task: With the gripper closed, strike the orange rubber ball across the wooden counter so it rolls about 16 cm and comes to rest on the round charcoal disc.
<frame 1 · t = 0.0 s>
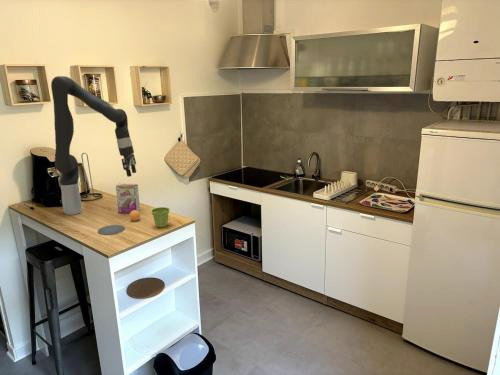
hand: (132, 174, 211), 22 cm above the worktop, tool pointing down, fingers open, 8 cm apart
ball: (134, 215, 204), on the worktop
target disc: (111, 230, 191), on the worktop
plant pot: (161, 226, 197), on the worktop
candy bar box: (129, 212, 217), on the worktop
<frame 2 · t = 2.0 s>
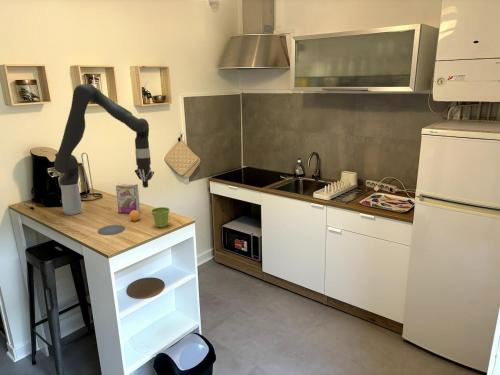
hand: (145, 187, 208), 16 cm above the worktop, tool pointing down, fingers closed
nothing on the worktop moved.
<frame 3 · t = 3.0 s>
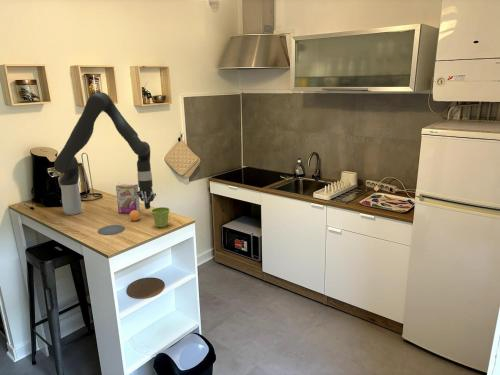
hand: (147, 208, 211), 4 cm above the worktop, tool pointing down, fingers closed
nothing on the worktop moved.
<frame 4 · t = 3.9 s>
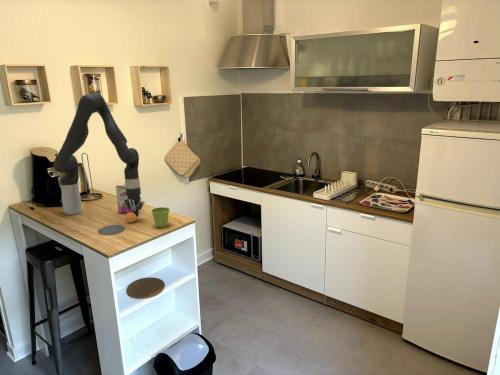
hand: (136, 217, 205), 2 cm above the worktop, tool pointing down, fingers closed
ball: (130, 217, 201), on the worktop, touching gripper
everything else where it was.
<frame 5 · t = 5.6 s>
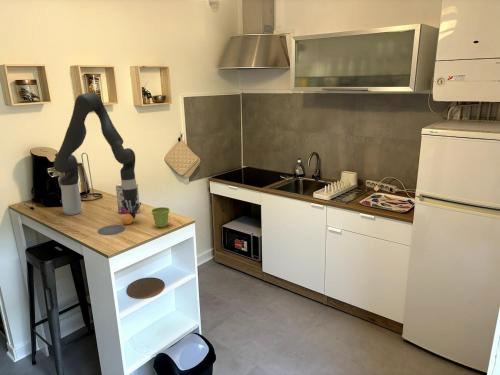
hand: (132, 218, 202), 2 cm above the worktop, tool pointing down, fingers closed
ball: (127, 218, 198), on the worktop, touching gripper
everything else where it was.
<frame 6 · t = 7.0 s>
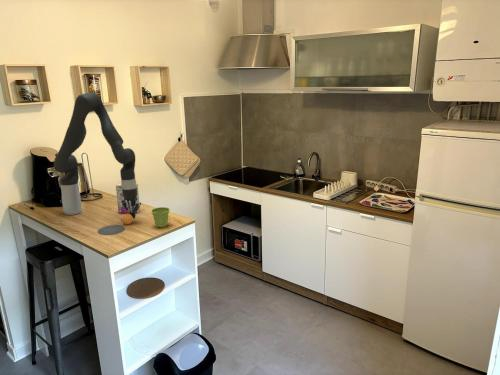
hand: (132, 218, 202), 2 cm above the worktop, tool pointing down, fingers closed
nothing on the worktop moved.
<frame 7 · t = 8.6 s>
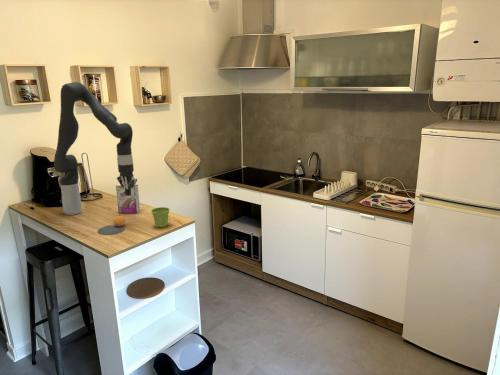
hand: (128, 195, 198), 15 cm above the worktop, tool pointing down, fingers closed
ball: (119, 221, 195), on the worktop
everything else where it was.
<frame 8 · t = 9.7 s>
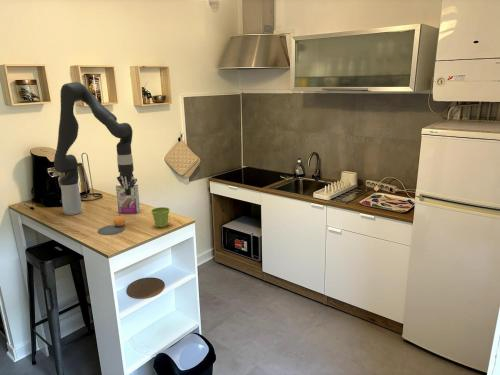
hand: (128, 195, 198), 15 cm above the worktop, tool pointing down, fingers closed
nothing on the worktop moved.
at the end: ball 5.8 cm from the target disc (horizontally); ball at rest at the end (0.0 cm/s); ball moved 10.2 cm from its start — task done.
